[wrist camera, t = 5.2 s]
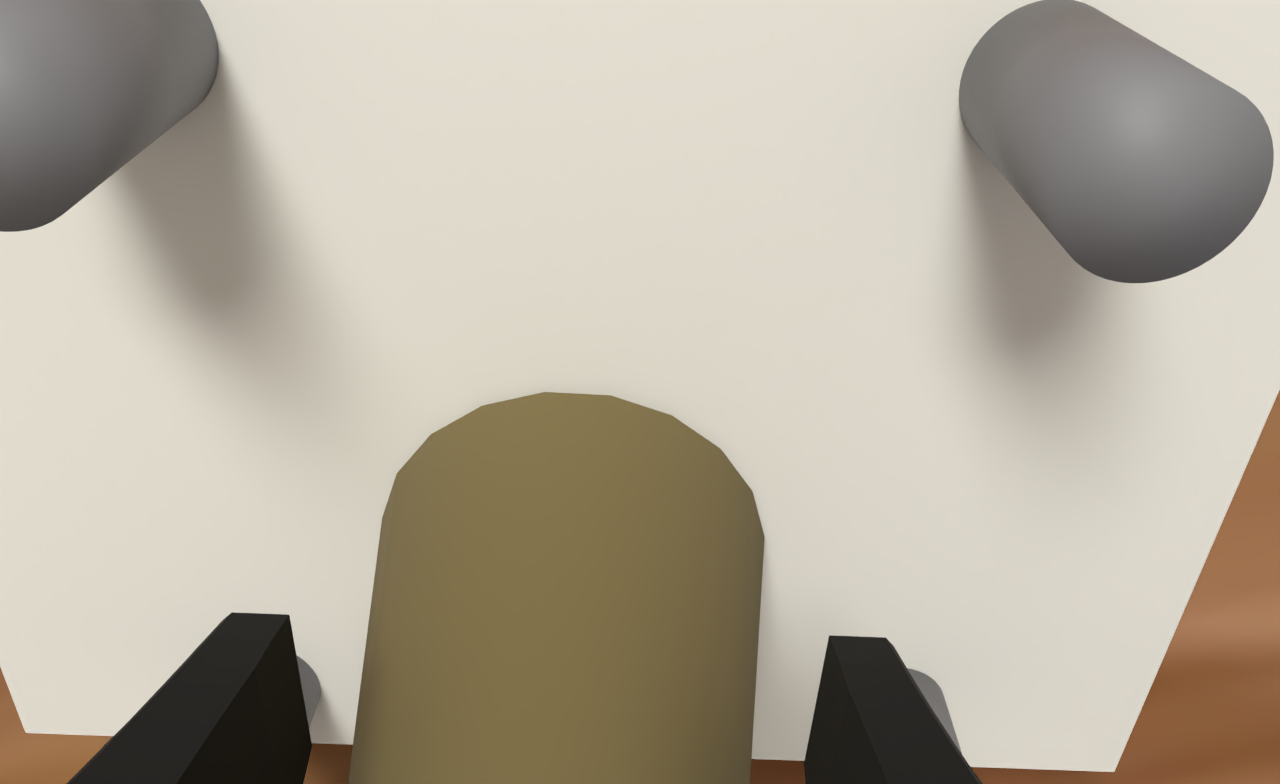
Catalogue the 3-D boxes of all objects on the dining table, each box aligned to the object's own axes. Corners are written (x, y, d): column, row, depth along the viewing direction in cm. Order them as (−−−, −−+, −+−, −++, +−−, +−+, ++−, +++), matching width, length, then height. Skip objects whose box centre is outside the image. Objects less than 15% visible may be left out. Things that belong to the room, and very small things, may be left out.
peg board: (1382, -49, 13) (1725, 46, 9) (1085, 709, 21) (1199, 957, 16) (-208, -133, 13) (-626, -74, 9) (64, 670, 20) (-90, 915, 16)
